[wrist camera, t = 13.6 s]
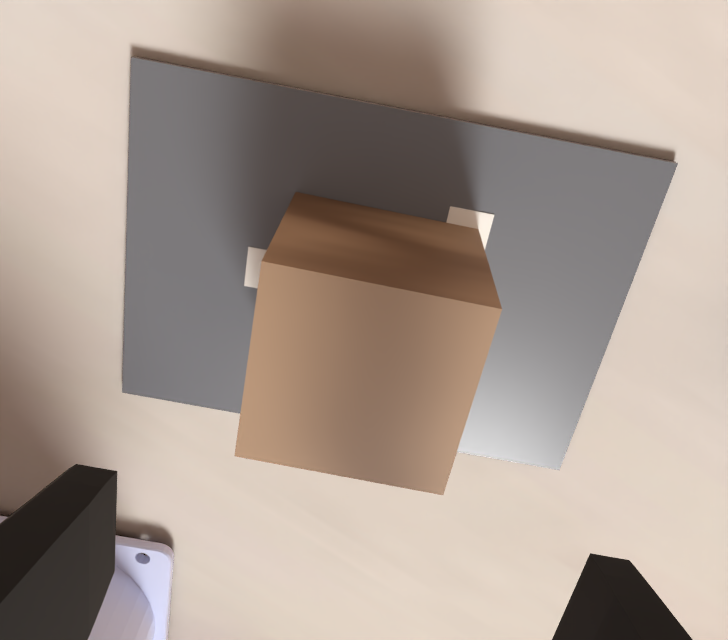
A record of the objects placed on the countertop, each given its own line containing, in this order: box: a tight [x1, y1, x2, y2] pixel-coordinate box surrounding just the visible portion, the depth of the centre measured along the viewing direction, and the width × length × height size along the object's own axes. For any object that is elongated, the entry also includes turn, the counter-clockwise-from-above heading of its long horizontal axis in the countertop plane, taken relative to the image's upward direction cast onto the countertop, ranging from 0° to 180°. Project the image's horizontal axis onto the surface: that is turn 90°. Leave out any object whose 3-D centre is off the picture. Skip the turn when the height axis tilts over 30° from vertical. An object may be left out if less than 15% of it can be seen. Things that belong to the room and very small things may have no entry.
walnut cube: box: [235, 192, 502, 495], centre depth 18 cm, size 5×5×5 cm
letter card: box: [122, 56, 678, 470], centre depth 20 cm, size 14×10×1 cm
